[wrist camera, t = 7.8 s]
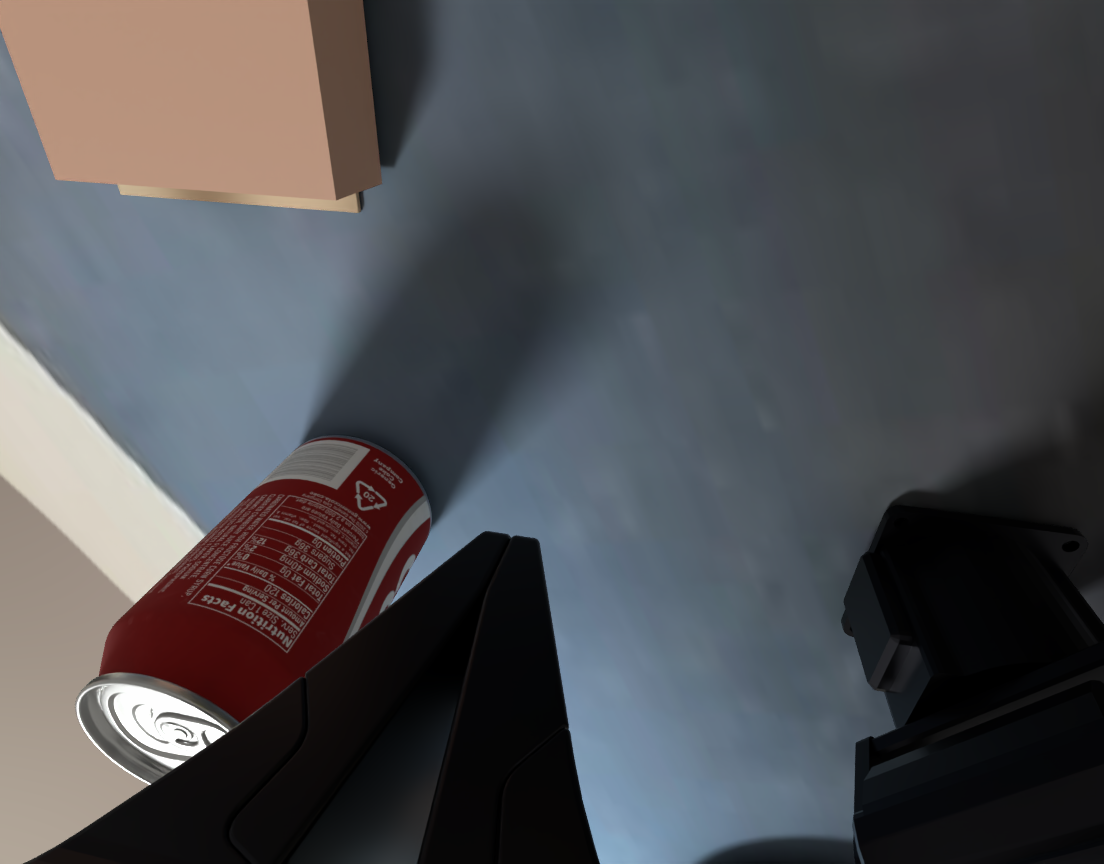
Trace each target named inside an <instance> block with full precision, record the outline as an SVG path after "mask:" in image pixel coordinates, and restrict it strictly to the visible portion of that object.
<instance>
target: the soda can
mask: <svg viewBox="0 0 1104 864" xmlns="http://www.w3.org/2000/svg"><path fill="white" fill-rule="evenodd" d="M431 523H432V512H431V506H430V502H429V499H428V496H427V494H426V492H425V490H424V488H423V486H422V484H421V483H420V481H419V480H418V478H417V477H416V476H415V474H414V473H413V472H412V471H411V470H410V469H409V467H408V466H407V465H406V464H404V463H403V462H402V461H401V460H400V459H399V458H397V457H396V456H395V455H393V454H392V453H390V452H389V451H387V450H386V449H384V448H382V447H380V446H378V445H376V444H374V443H371V442H369V441H366V440H363V439H360V438H356V437H351V436H344V435H327V436H321V437H317V438H314V439H311V440H309V441H307V442H305V443H303V444H302V445H300V446H299V447H298V448H296V449H295V450H294V451H293V452H292V453H291V454H290V455H289V456H288V457H287V458H286V459H285V460H284V461H283V462H282V463H281V464H280V465H279V466H278V467H277V468H276V469H275V470H274V471H273V472H272V473H271V474H270V475H268V476H267V477H266V478H265V479H264V480H263V481H262V482H261V483H260V484H259V485H258V486H257V487H256V488H255V489H254V490H253V491H252V492H251V493H250V494H249V495H248V496H247V497H246V498H245V499H244V500H243V501H242V502H240V503H239V504H238V505H237V506H236V507H235V508H234V509H233V510H232V511H231V512H230V513H229V514H228V515H227V516H226V517H225V518H224V519H223V520H222V521H221V522H220V523H219V524H218V525H217V526H216V527H215V528H214V529H212V530H211V531H210V532H209V533H208V534H207V535H206V536H205V537H204V538H203V539H202V540H201V541H200V542H199V543H198V544H197V545H196V546H195V547H194V548H193V549H192V550H191V551H190V552H189V553H188V554H187V555H186V556H184V557H183V558H182V559H181V560H180V561H179V562H178V563H177V564H176V565H175V566H174V567H173V568H172V569H171V570H170V571H169V572H168V573H167V574H166V575H165V576H164V577H163V578H162V579H161V580H160V581H159V582H158V583H156V584H155V585H154V586H153V587H152V588H151V589H150V590H149V591H148V592H147V593H146V594H145V595H144V596H143V597H142V598H141V599H140V600H139V601H138V602H137V603H136V604H135V605H134V606H133V607H132V608H131V609H130V610H129V611H128V612H127V613H125V615H123V616H122V617H121V618H120V619H119V620H118V621H117V622H116V623H115V625H114V626H113V627H112V629H111V630H110V632H109V634H108V637H107V640H106V642H105V647H104V652H103V657H102V662H101V667H100V672H99V677H96V678H95V679H93V680H92V681H90V682H89V683H88V684H87V685H86V686H85V687H84V688H83V689H82V690H81V692H80V693H79V695H78V696H77V699H76V703H75V710H76V715H77V718H78V721H79V723H80V725H81V727H82V729H83V730H84V732H85V733H86V735H87V736H88V737H89V739H90V740H91V741H92V742H93V743H94V745H96V747H97V748H98V749H99V750H100V751H101V752H102V753H103V754H105V755H106V756H107V757H108V758H109V759H110V760H112V761H113V762H114V763H115V764H117V765H118V766H119V767H121V768H122V769H124V770H125V771H127V772H128V773H130V774H131V775H133V776H135V777H136V778H138V779H140V780H141V781H143V782H145V783H147V784H149V785H150V784H152V783H153V782H155V781H156V780H158V779H159V778H161V777H162V776H164V775H165V774H167V773H168V772H170V771H171V770H173V769H174V768H176V767H177V766H179V765H180V764H182V763H183V762H185V761H186V760H188V759H189V758H191V757H192V756H194V755H195V754H197V753H198V752H199V751H201V750H202V749H204V748H205V747H207V746H208V745H209V744H211V743H212V742H214V741H215V740H217V739H218V738H220V737H221V736H222V735H224V734H225V733H227V732H228V731H230V730H231V729H233V728H234V727H235V726H237V725H238V724H240V723H241V722H242V721H244V720H245V719H246V718H247V717H249V716H250V715H251V714H253V713H254V712H255V711H257V710H258V709H259V708H261V707H262V706H263V705H265V704H266V703H267V702H269V701H270V700H271V699H273V698H274V697H275V696H277V695H278V694H279V693H280V692H282V691H283V690H284V689H285V688H287V687H288V686H289V685H290V684H292V683H293V682H294V681H295V680H297V679H298V678H299V677H304V678H305V673H306V672H307V671H308V670H310V669H311V668H312V667H313V666H315V665H316V664H317V663H318V662H320V661H321V660H322V659H323V658H325V657H326V656H327V655H329V654H330V653H331V652H332V651H334V650H335V649H336V648H337V647H339V646H340V645H341V644H342V643H344V642H345V641H346V640H347V639H349V638H350V637H351V636H352V635H354V634H355V633H356V632H358V631H359V630H360V629H361V628H363V627H364V626H365V625H366V624H368V623H369V622H370V621H371V620H373V619H374V618H375V617H376V616H378V615H379V614H380V613H381V612H383V611H384V610H385V609H387V608H388V607H389V606H390V604H391V603H392V601H393V599H394V597H395V595H396V594H397V592H398V590H399V588H400V586H401V585H402V583H403V581H404V579H405V577H406V576H407V574H408V572H409V570H410V568H411V567H412V565H413V563H414V561H415V559H416V558H417V556H418V554H419V552H420V550H421V549H422V547H423V545H424V543H425V541H426V540H427V537H428V535H429V533H430V529H431Z"/></svg>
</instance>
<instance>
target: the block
mask: <svg viewBox="0 0 1104 864" xmlns="http://www.w3.org/2000/svg"><path fill="white" fill-rule="evenodd" d="M0 28H1V31H2V34H3V37H4V39H5V42H6V45H7V48H8V50H9V53H10V56H11V58H12V61H13V64H14V67H15V69H16V72H17V75H18V78H19V80H20V83H21V86H22V89H23V91H24V94H25V97H26V100H27V102H28V105H29V108H30V110H31V113H32V116H33V119H34V121H35V124H36V127H37V130H38V132H39V135H40V138H41V141H42V143H43V146H44V149H45V152H46V154H47V157H48V160H49V162H50V165H51V168H52V171H53V173H54V176H55V179H56V180H66V181H79V182H93V183H106V184H120V185H133V186H147V187H160V188H174V189H187V190H201V191H214V192H228V193H241V194H255V195H269V196H282V197H296V198H309V199H323V200H339V199H342V198H344V197H347V196H350V195H353V194H355V193H358V192H361V191H364V190H366V189H369V188H372V187H375V186H377V185H380V184H382V178H381V168H380V159H379V149H378V140H377V130H376V121H375V111H374V102H373V93H372V83H371V74H370V64H369V55H368V45H367V36H366V26H365V17H364V7H363V0H0Z"/></svg>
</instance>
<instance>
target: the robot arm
mask: <svg viewBox="0 0 1104 864" xmlns="http://www.w3.org/2000/svg"><path fill="white" fill-rule="evenodd" d="M898 518H905V519H904V520H903V521H900V522H895V520H896V519H898ZM1068 541H1071V542H1070V543H1068V544H1064V543H1066V542H1068ZM1087 546H1088V542H1087V540H1086V538H1085V537H1084V536H1083V535H1082V534H1081V533H1080V532H1079V531H1078V530H1077V529H1073V528H1068V527H1061V526H1053V525H1046V524H1038V523H1031V522H1023V521H1016V520H1008V519H1001V518H993V517H986V516H978V515H971V514H963V513H956V512H948V511H941V510H933V509H926V508H918V507H911V506H903V505H899V506H894V507H891V508H889V509H888V510H886V512H885V513H884V515H883V517H882V520H881V522H880V525H879V527H878V530H877V532H876V535H875V537H874V540H873V542H872V545H871V547H870V550H869V552H866V553H865V554H864V555H862V556H861V558H860V560H859V563H858V565H857V568H856V570H855V573H854V576H853V578H852V581H851V583H850V586H849V588H848V591H847V593H846V596H845V598H844V605H845V608H846V609H845V612H844V614H843V617H842V620H841V623H842V627H843V630H844V632H845V633H846V634H847V635H849V636H852V637H854V638H855V642H856V645H857V648H858V652H859V655H860V659H861V662H862V665H863V669H864V672H865V675H866V679H867V682H868V683H869V685H870V686H871V687H872V688H873V689H874V690H877V691H883V692H884V693H885V696H886V699H887V702H888V706H889V709H890V712H891V715H892V718H893V721H894V724H895V727H896V729H895V730H892V731H890V732H888V733H885V734H883V735H881V736H878V737H876V738H873V737H872V736H870V737H868V738H865V739H863V740H861V741H858V742H856V752H855V796H854V815H853V824H852V827H853V832H854V840H853V844H854V858H855V862H856V864H1104V624H1103V623H1102V621H1101V620H1100V619H1099V618H1098V616H1097V615H1096V614H1095V612H1094V611H1093V610H1092V608H1091V607H1090V606H1089V604H1088V603H1087V602H1086V600H1085V599H1084V598H1083V596H1082V595H1081V594H1080V592H1079V591H1078V590H1077V588H1076V587H1075V586H1074V585H1073V583H1072V582H1071V581H1070V579H1069V578H1068V577H1069V575H1070V574H1071V572H1072V571H1073V569H1074V568H1075V566H1076V564H1077V563H1078V561H1079V560H1080V558H1081V557H1082V555H1083V554H1084V552H1085V551H1086V549H1087ZM568 729H569V724H568V718H567V711H566V705H565V699H564V693H563V686H562V680H561V674H560V668H559V661H558V655H557V649H556V643H555V636H554V630H553V624H552V618H551V611H550V605H549V599H548V593H547V587H546V580H545V574H544V568H543V562H542V555H541V549H540V543H539V541H538V540H537V539H536V538H530V537H523V536H513V537H512V538H511V537H510V536H509V535H508V534H504V533H497V532H490V531H485V532H483V533H481V534H480V535H478V536H477V537H476V538H475V539H473V540H472V541H471V542H470V543H468V544H467V545H466V546H465V547H463V548H462V549H461V550H460V551H458V552H457V553H456V554H455V555H453V556H452V557H451V558H450V559H448V560H447V561H446V562H444V563H443V564H442V565H441V566H439V567H438V568H437V569H436V570H434V571H433V572H432V573H431V574H429V575H428V576H427V577H426V578H424V579H423V580H422V581H421V582H419V583H418V584H417V585H415V586H414V587H413V588H412V589H410V590H409V591H408V592H407V593H405V594H404V595H403V596H402V597H400V598H399V599H398V600H397V601H395V602H394V603H393V604H392V605H390V606H389V607H388V608H387V609H385V610H384V611H383V612H381V613H380V614H379V615H378V616H376V617H375V618H374V619H373V620H371V621H370V622H369V623H368V624H366V625H365V626H364V627H363V628H361V629H360V630H359V631H358V632H356V633H355V634H354V635H352V636H351V637H350V638H349V639H347V640H346V641H345V642H344V643H342V644H341V645H340V646H339V647H337V648H336V649H335V650H334V651H332V652H331V653H330V654H329V655H327V656H326V657H325V658H323V659H322V660H321V661H320V662H318V663H317V664H316V665H315V666H313V667H312V668H311V669H310V670H308V671H307V672H306V673H305V678H304V677H299V678H298V679H297V680H295V681H294V682H293V683H292V684H290V685H289V686H288V687H287V688H285V689H284V690H283V691H282V692H280V693H279V694H278V695H277V696H275V697H274V698H273V699H271V700H270V701H269V702H267V703H266V704H265V705H263V706H262V707H261V708H259V709H258V710H257V711H255V712H254V713H253V714H251V715H250V716H249V717H247V718H246V719H245V720H244V721H242V722H241V723H240V724H238V725H237V726H235V727H234V728H233V729H231V730H230V731H228V732H227V733H225V734H224V735H222V736H221V737H220V738H218V739H217V740H215V741H214V742H212V743H211V744H209V745H208V746H207V747H205V748H204V749H202V750H201V751H199V752H198V753H197V754H195V755H194V756H192V757H191V758H189V759H188V760H186V761H185V762H183V763H182V764H180V765H179V766H177V767H176V768H174V769H173V770H171V771H170V772H168V773H167V774H165V775H164V776H162V777H161V778H159V779H158V780H156V781H155V782H153V783H152V784H150V785H149V786H147V787H146V788H144V789H143V790H141V791H140V792H138V793H137V794H135V795H134V796H132V797H131V798H129V799H128V800H126V801H125V802H123V803H122V804H120V805H119V806H117V807H116V808H114V809H113V810H111V811H110V812H108V813H107V814H105V815H104V816H103V817H101V818H99V819H98V820H96V821H95V822H93V823H92V824H90V825H89V826H87V827H86V828H84V829H83V830H81V831H80V832H78V833H77V834H75V835H73V836H72V837H70V838H69V839H67V840H65V841H64V842H62V843H61V844H59V845H57V846H56V847H54V848H52V849H50V850H48V851H47V852H45V853H43V854H41V855H39V856H37V857H36V858H34V859H32V860H30V861H28V862H25V863H23V864H600V863H599V859H598V856H597V853H596V849H595V845H594V842H593V838H592V834H591V831H590V827H589V823H588V819H587V816H586V812H585V808H584V804H583V800H582V795H581V790H580V785H579V780H578V775H577V770H576V765H575V760H574V753H573V747H572V741H571V734H570V731H569V730H568Z"/></svg>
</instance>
